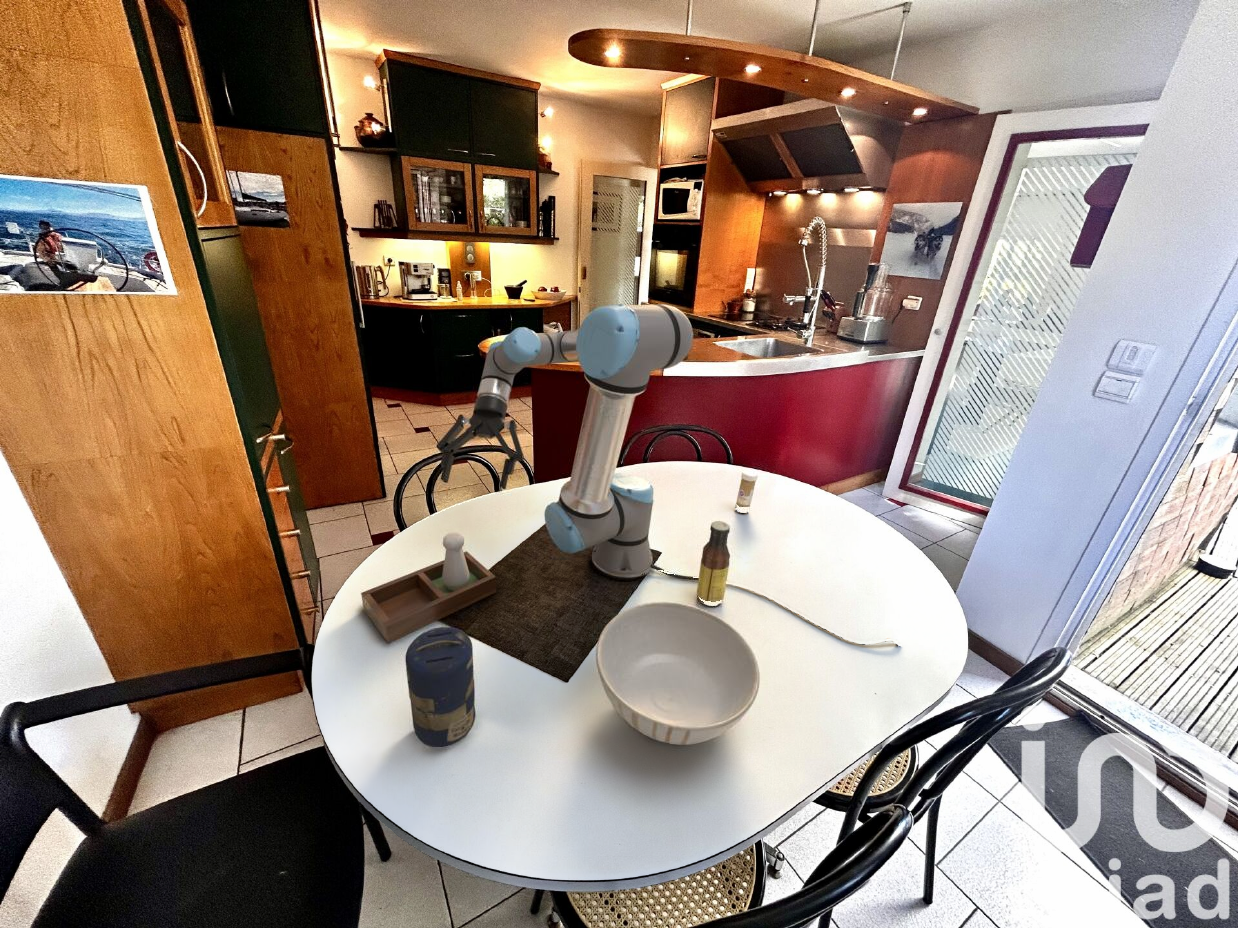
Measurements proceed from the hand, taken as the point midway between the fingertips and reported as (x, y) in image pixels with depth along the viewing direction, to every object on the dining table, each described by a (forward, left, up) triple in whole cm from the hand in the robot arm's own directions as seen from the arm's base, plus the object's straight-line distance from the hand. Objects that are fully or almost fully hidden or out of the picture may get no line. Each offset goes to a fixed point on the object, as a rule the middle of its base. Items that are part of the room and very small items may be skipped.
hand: (473, 484), depth 111 cm
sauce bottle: (-46, -33, -21) cm, 60 cm away
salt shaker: (-7, +9, -20) cm, 23 cm away
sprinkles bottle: (-28, -76, -21) cm, 83 cm away
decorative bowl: (-58, -3, -21) cm, 62 cm away
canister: (-36, +27, -21) cm, 50 cm away
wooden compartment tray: (-7, +15, -20) cm, 26 cm away
